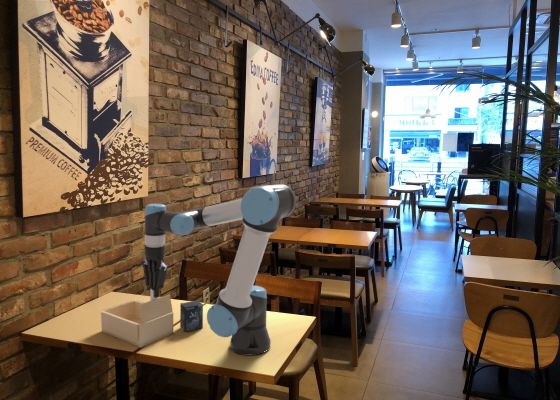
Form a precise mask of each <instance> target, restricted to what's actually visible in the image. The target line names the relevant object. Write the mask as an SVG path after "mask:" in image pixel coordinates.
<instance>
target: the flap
mask: <svg viewBox="0 0 560 400" xmlns="http://www.w3.org/2000/svg"><path fill="white" fill-rule="evenodd" d="M140 308H141V314H142V320H143V323H146V322H148V321H151V320H154V319H156V318H159V317H161V316H164V315H167V314H169V313H172V312H173V313H174V311H173V305H172V300H171V294H167V295H164V296H161V297H158V299H155V300H152V301H150V300H149V301H146V302H145V303H143V304H140Z"/></svg>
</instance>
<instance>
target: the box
mask: <svg viewBox="0 0 560 400" xmlns="http://www.w3.org/2000/svg"><path fill="white" fill-rule="evenodd" d="M179 306H180V310H179V311H180V312H179V313H180V315H179V317H180V318H179V321H180V322H179V323H180V324H179V325H180V326H179V327H180V329H181V330H182V331H183V332H185V333H187V332H191V331H196V330H200V329H203V328H204V327H203V326H204V322H203V321H204V315H203V314H204V304H203V303H202V302H200V300H199V299H198V300H192V301H187V302H181V303H180V305H179Z"/></svg>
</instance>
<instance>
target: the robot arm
mask: <svg viewBox="0 0 560 400" xmlns="http://www.w3.org/2000/svg"><path fill="white" fill-rule="evenodd" d="M296 206H297V197H296V194H295V192H294V191H293V189H292V188H291V187H289V186H288V185H287V184H283V183H282V184H281V183H275V184H269V185H266V184H265V185H258V186H255V187H252V188H251V189H249V190H247V191H246V192H245V193H244V195H243V197H242V198H239V199H234V200H231V201H227V202H223V203H222V202H221V203H216V204H213V205H210V206H204V207H198V208H195V209H190V210H185V211H177V212H175V211H174V212H173V211H167V206H166V205H165V204H163V203H149V204H146V206H145V207H144V208H145V209H144V245H145V246H144V256H146V257H145V258H144V259H142V260H141V261H140V262H141V265H142V269H143V276H144V282H145V286H147V287H148V288H149V297H150V298H149V299H150V300H149V301H152V300H155V299H158V298H160V297H159V296H160V289H163V288H164V286H165V280H166V276H167V271H168V269H169V265H168V264H165V263H164V262H165V260H164V256H165V255H166V246H165V244H166V233H170V234H175V235H178V236H187V235H189V234H190V233H191V232H192V231H193V230H197V229H198V230H199V229H204V228H207V227H211V226H217V225H221V224H226V223H232V222H236V221H241V222H242V224H243V226H244V228H243V232H242V235H241V239H240V241H239V245H238V248H237V251H236V253H235V254H236V255H235V257H234V261H233V262H232V267H231V270H230V273H229V276H228V280H227V283H226V285H225V288H223V289H221V290H220V291H219V294H218V296H217V299H216V303H215V304H212V305H211V306H210V307H209V309H208V310H207V313H206V320H207V324H208V325H209V328H210V330H211V331H212V332H213V333H214V334H216V335H217V336H218V337H221V338H230V337H231V339H230V343H229V345H230V347H231V348H230V349H232V350H233V352H234V351H235V352H234V353H236V352H237V353H236V354H238V353H240V354H239V355H242V354H258V353H262V352H264V351H266V350H268V349H269V348H270V349H271V346H270V345H271V341H272V340H271V337H270V334H269V331H268V328H267V308H268V306H267V305H268V301H267V299H268V296H267V290H266V288H264V287H262V286H260V285H259V286H258V285H254V283H255V281H256V278H257V275H258V271H259V269H260V266H261V263H262V261H263V256H264V254H265V252H266V251H265V250H266V247H267V245H268V242H269V239H270V237H271V235H273V234H274V233H276V232H277V230H278V227H279V224H280V221H281V220H282V219H284V218H286V217H288V216H290V215H291V214H292V213H293V212H294V210H295V208H296ZM270 349H269V350H270ZM232 350H231V351H232ZM269 350H268V351H269ZM266 352H267V351H266ZM264 353H265V352H264ZM262 354H263V353H262ZM258 355H259V354H258Z"/></svg>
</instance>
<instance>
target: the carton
mask: <svg viewBox="0 0 560 400" xmlns="http://www.w3.org/2000/svg"><path fill="white" fill-rule="evenodd" d="M143 303H146V302H144V301H141V300H139V299H134V300H128V301H126V302H125V301H124V302H122V303H119V304H116V305H112V306H109V307H107V308H103V309H102V310H101V311H100V316H101V317H100V319H101V320H100V321H101V333H104V334H106V335H108V336H111V337H114V338H116V339H119V340H121V341H123V342H126V343H128V344H131V345H132V346H136V347H138V348H143V347H145V346H146V347H147V346H148V345H150V344H152V343H153V344H154V342H157V341H159V340H161V339H164V338H167V337H168V336H170V335H173V334H174V332H175V331H174V311H173V312H172V313H169V314H167V315H164V316H161V317H159V318H156V319H154V320H151V321H148V322H146V323H143V320H142V314H141V308H140V304H143Z"/></svg>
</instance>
